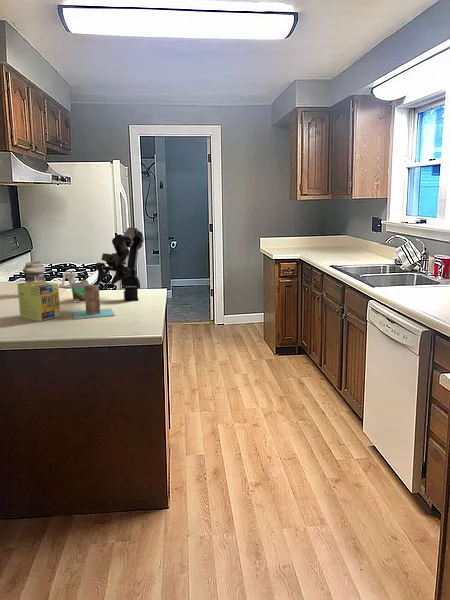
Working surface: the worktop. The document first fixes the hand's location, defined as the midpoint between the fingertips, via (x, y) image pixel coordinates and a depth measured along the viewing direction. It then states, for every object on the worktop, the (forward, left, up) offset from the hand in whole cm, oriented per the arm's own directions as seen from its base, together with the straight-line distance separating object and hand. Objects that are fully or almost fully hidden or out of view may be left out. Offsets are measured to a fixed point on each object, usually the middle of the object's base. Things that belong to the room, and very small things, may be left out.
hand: (104, 283), depth 238 cm
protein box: (+29, +2, -14) cm, 32 cm away
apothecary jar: (+31, -53, -13) cm, 63 cm away
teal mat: (+6, +5, -13) cm, 15 cm away
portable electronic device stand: (+13, -72, -14) cm, 74 cm away
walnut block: (+6, +5, -13) cm, 15 cm away
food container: (+8, -28, -13) cm, 32 cm away
